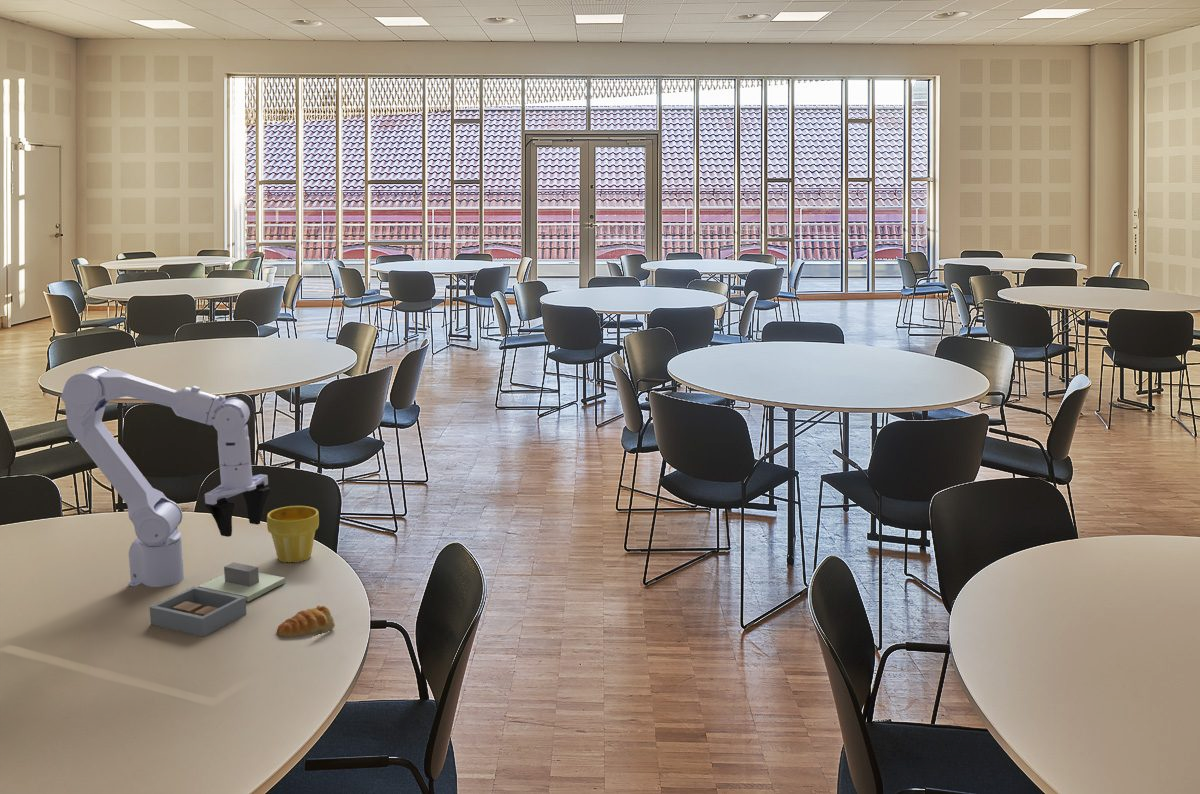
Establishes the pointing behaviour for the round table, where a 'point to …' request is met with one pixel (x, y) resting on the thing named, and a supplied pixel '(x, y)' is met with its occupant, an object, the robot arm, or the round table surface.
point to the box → (195, 624)
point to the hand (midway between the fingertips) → (240, 529)
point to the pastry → (307, 623)
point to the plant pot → (293, 531)
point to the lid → (243, 581)
